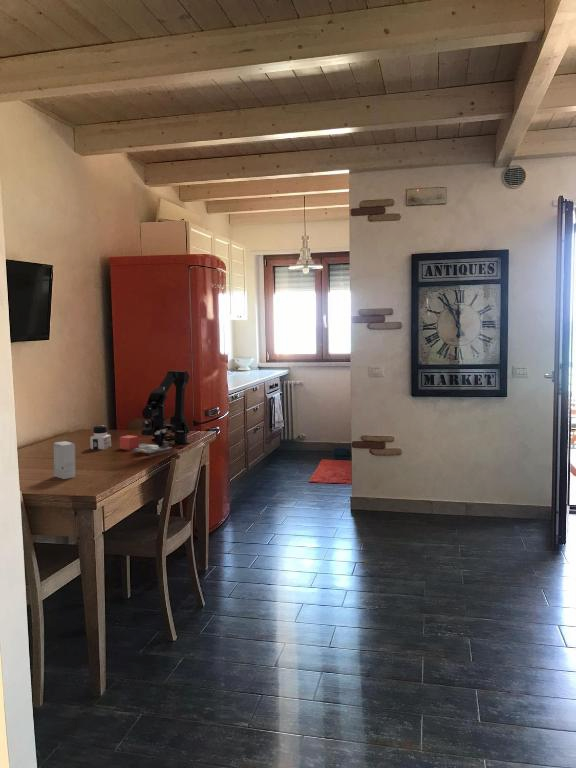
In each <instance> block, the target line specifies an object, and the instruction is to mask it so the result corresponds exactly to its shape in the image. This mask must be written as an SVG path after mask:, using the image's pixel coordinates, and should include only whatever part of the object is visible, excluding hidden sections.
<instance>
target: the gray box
mask: <svg viewBox="0 0 576 768" xmlns="http://www.w3.org/2000/svg"><path fill="white" fill-rule="evenodd" d="M167 447H170V443H169V441H167V440H163V442H162V445H161V447H160V448H167Z"/></svg>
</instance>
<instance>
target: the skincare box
mask: <svg viewBox="0 0 576 768" xmlns="http://www.w3.org/2000/svg"><path fill="white" fill-rule="evenodd" d="M53 477H55V478H59V479H62V480H66V479H67V480H68V479H71V478H75V477H76V444H75V443H73V442H70V441H65V440H63V441H56V442H53Z"/></svg>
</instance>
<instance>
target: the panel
mask: <svg viewBox="0 0 576 768" xmlns="http://www.w3.org/2000/svg"><path fill="white" fill-rule="evenodd" d="M125 450H126V449H123V451H125ZM126 451H127V450H126ZM130 451H131V452H138V453H143V454H145V455H144V456H145V457H151V456H155V455H161V454H164V453H169V452H173V451H174V448H173V447H172V446H169V447H167V448H160V447H158V445H157V444H149V443H139V448H135V449H132V450H130Z"/></svg>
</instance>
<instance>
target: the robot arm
mask: <svg viewBox="0 0 576 768" xmlns="http://www.w3.org/2000/svg"><path fill="white" fill-rule="evenodd" d="M189 378H190V374H189V372H188V371H187V370H168V371H167V372H166V375H165V377H164V378H163V380H162V382H161V383H160V384H159V386H158V387H156V388H155V389H153V390H152V391H151V392H150V394H149V396H148V399H147V402H146V405H145V408H143V409H142V412H141V414H142V417H143V418H144V419H145V421H142V424H141V425H142V429H141V432H140V433H141V436H147V437H151V436H153V437H154V441H155V442H156V445H158V447H161V445H162V442H163V441H165V438H166V436H167V435H168V432H167V431H169V430H170V431H171V432H170V433H172V434H174V436H173V437H174V439H173V440H174V441H173V443H172V445H179V446H184V445H187V444H190V441H188V434H189V433H190V432H191V430H190V429H191V428H190V426H189V425H188V423H187V418H186V416H185V413H184V412H185V393H186V386H187V385H188V384H189V380H190V379H189ZM173 385H174V387H175V391H174V392H175V395H174V396H175V397H174V400H175V401H174V414H173V416H171V417H170V423H168V424H165V421H166V420H167V417H165V407H166V404H165V402H166V399H167V397H168V395H167V393H168V391H169V389H170V388H171V387H172V386H173ZM147 420H150V421H147Z"/></svg>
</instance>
